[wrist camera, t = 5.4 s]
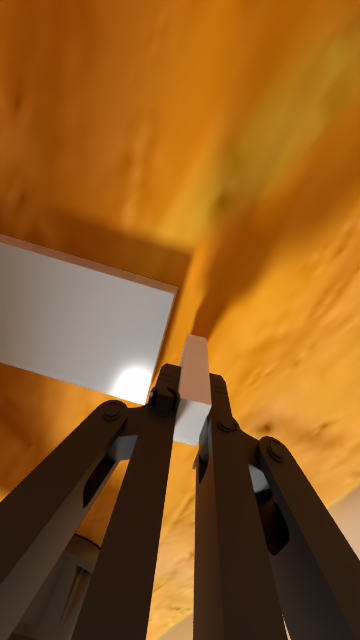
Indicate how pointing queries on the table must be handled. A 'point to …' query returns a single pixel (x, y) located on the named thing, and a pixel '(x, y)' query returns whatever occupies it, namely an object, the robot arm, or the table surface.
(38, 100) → the table surface
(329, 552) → the robot arm
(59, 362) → the tile
